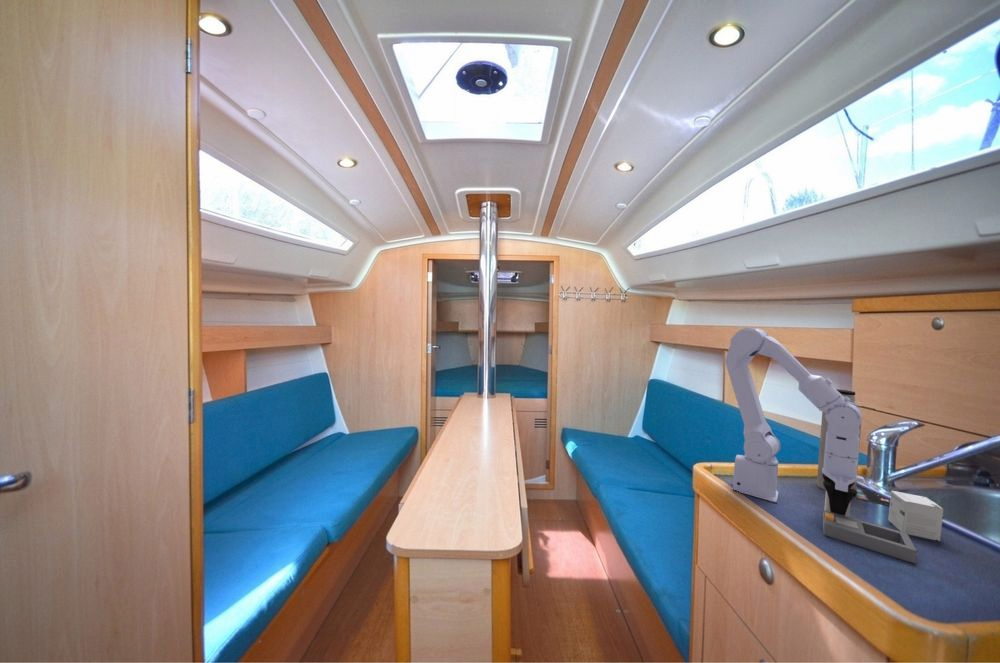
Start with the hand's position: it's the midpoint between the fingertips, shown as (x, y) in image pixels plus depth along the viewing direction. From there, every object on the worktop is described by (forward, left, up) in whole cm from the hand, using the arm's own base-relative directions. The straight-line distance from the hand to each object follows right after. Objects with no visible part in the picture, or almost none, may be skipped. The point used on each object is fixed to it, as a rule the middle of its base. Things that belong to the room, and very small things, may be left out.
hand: (836, 511), depth 84 cm
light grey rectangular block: (0, 0, -2) cm, 2 cm away
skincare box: (+13, +6, -2) cm, 14 cm away
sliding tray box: (+4, -8, -2) cm, 9 cm away
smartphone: (+12, +23, -2) cm, 26 cm away
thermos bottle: (+1, +22, -2) cm, 22 cm away
